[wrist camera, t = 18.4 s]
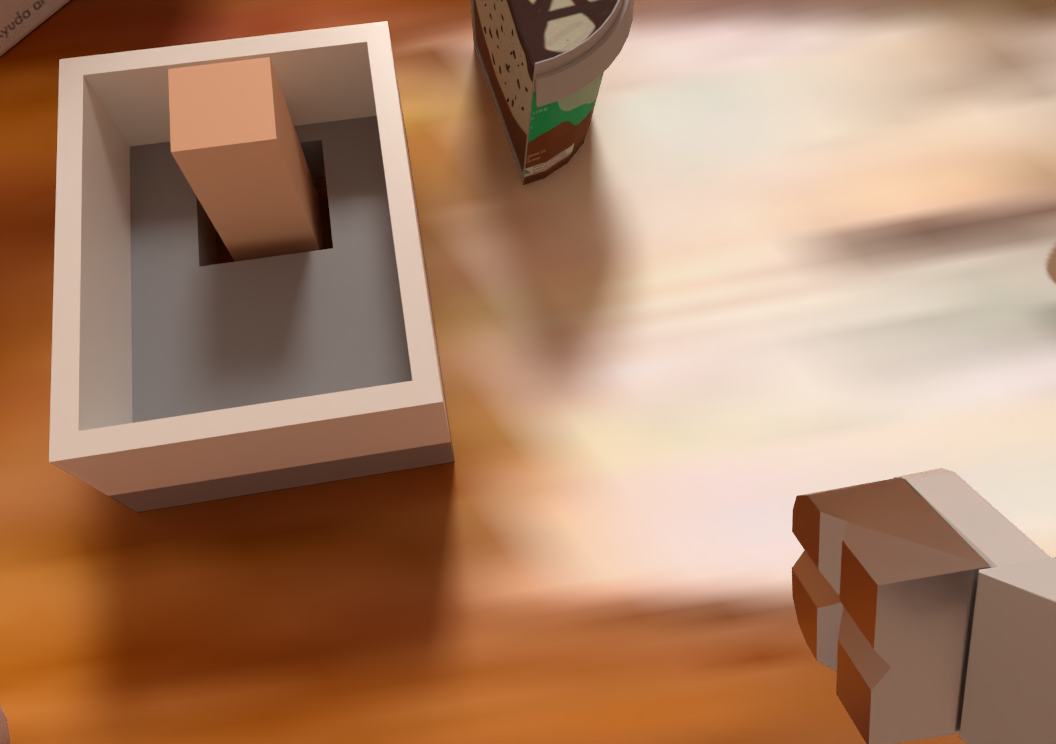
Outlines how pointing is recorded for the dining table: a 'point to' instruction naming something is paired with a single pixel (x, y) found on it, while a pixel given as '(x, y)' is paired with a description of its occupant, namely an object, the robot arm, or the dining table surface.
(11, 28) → the cereal box
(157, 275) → the socket box
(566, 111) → the food container
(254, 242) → the peg
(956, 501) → the robot arm
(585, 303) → the dining table surface
